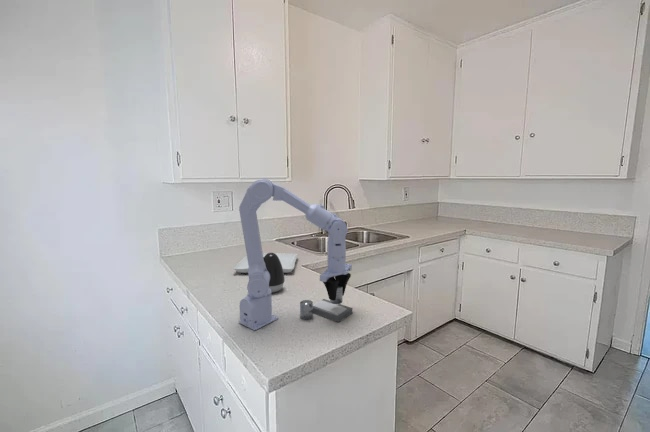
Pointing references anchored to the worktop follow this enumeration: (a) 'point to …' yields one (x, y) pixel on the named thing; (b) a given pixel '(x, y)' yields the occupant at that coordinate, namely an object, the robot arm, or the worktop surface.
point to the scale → (331, 310)
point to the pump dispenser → (274, 271)
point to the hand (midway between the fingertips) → (336, 297)
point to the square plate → (285, 259)
